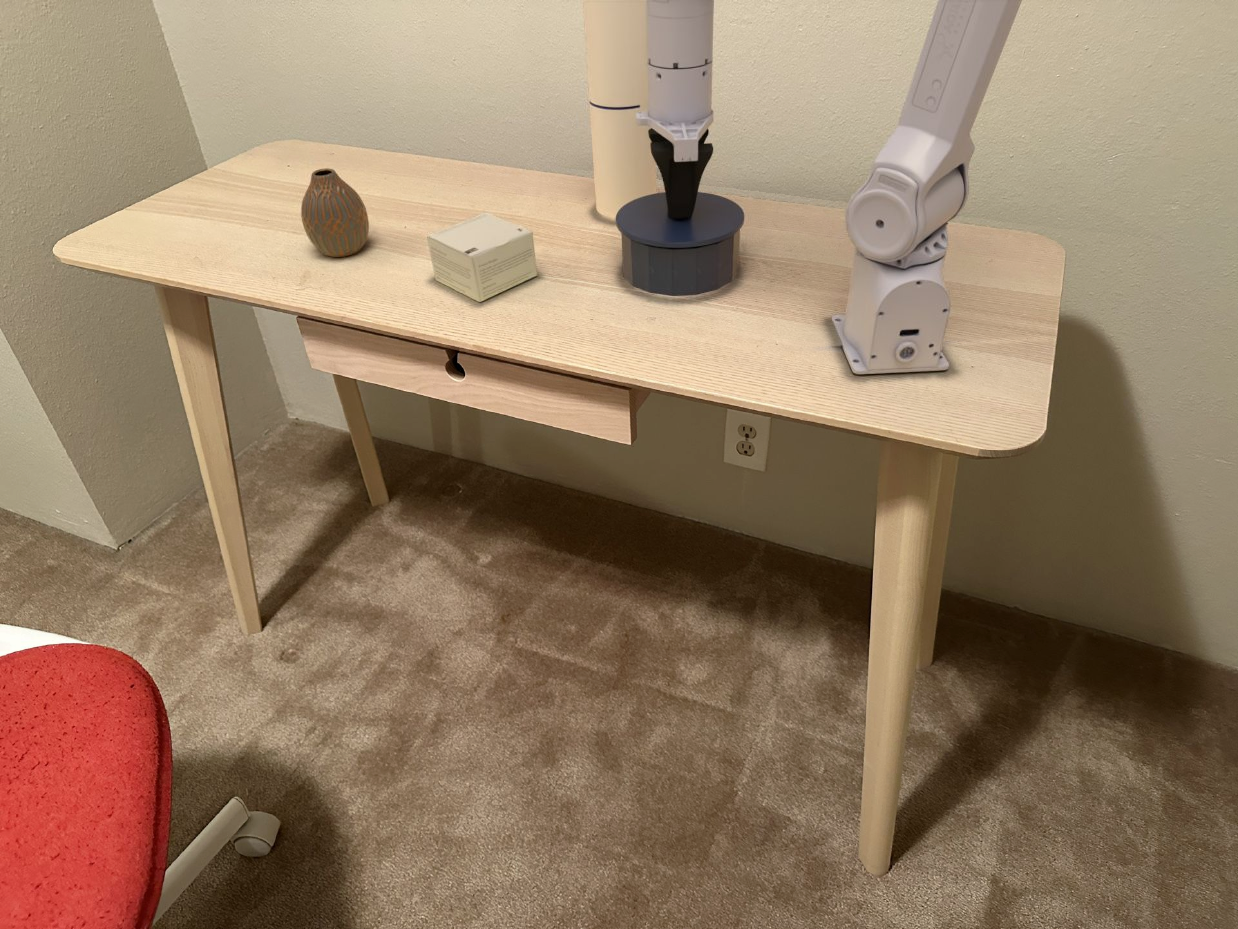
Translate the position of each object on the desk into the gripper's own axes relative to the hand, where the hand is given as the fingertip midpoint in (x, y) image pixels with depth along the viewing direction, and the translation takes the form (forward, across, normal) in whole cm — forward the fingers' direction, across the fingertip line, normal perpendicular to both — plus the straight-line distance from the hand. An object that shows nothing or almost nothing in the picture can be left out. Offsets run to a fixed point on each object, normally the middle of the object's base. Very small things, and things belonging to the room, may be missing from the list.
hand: (679, 210), depth 84 cm
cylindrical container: (+7, -17, -5) cm, 19 cm away
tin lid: (+1, 0, 0) cm, 1 cm away
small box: (+7, -1, -20) cm, 21 cm away
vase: (+7, -10, -37) cm, 39 cm away
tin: (+7, 0, 0) cm, 7 cm away
